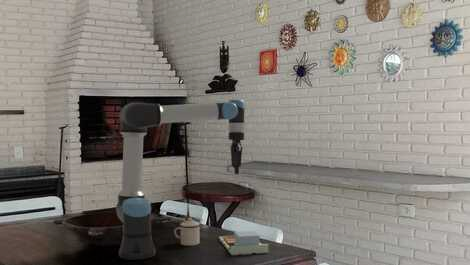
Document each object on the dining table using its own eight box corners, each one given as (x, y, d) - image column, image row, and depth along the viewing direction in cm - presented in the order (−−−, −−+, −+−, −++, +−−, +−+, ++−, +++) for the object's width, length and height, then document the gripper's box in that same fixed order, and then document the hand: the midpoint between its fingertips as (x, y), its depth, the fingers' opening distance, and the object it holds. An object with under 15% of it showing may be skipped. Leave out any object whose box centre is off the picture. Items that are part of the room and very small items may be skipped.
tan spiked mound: (170, 228, 267) (170, 203, 267) (178, 224, 277) (178, 200, 276) (197, 229, 263) (196, 204, 262) (204, 225, 272) (203, 201, 272)
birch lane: (218, 238, 240) (218, 236, 240) (251, 236, 244) (251, 234, 244) (231, 254, 213) (231, 251, 213) (267, 251, 216) (267, 249, 216)
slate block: (234, 248, 223) (234, 232, 222) (254, 247, 225) (254, 230, 224) (239, 254, 214) (238, 236, 214) (259, 252, 216) (259, 235, 216)
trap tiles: (224, 239, 239) (224, 238, 239) (247, 237, 242) (247, 237, 242) (227, 243, 232) (227, 242, 232) (251, 241, 234) (251, 241, 234)
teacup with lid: (201, 241, 236) (201, 216, 236) (197, 246, 227) (197, 220, 227) (176, 240, 238) (176, 216, 237) (171, 245, 229) (171, 220, 228)
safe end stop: (231, 254, 213) (231, 246, 213) (267, 251, 216) (267, 243, 216) (231, 255, 212) (231, 246, 212) (268, 252, 215) (268, 244, 215)
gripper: (247, 131, 238) (247, 181, 237) (239, 132, 250) (239, 179, 250) (232, 131, 235) (232, 182, 235) (225, 131, 248) (224, 179, 248)
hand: (236, 180), depth 243 cm, fingers closed
